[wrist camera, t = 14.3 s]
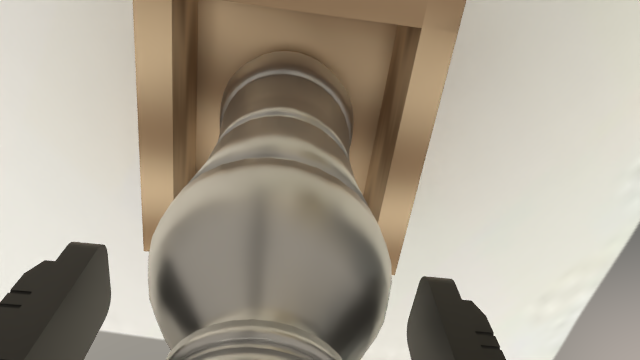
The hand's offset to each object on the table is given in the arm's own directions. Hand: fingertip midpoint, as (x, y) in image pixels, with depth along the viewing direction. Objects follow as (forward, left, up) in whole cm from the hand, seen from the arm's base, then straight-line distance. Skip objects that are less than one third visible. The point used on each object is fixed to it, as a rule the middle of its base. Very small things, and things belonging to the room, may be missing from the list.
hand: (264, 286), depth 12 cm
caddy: (0, 0, -16) cm, 16 cm away
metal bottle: (0, 0, -15) cm, 15 cm away
